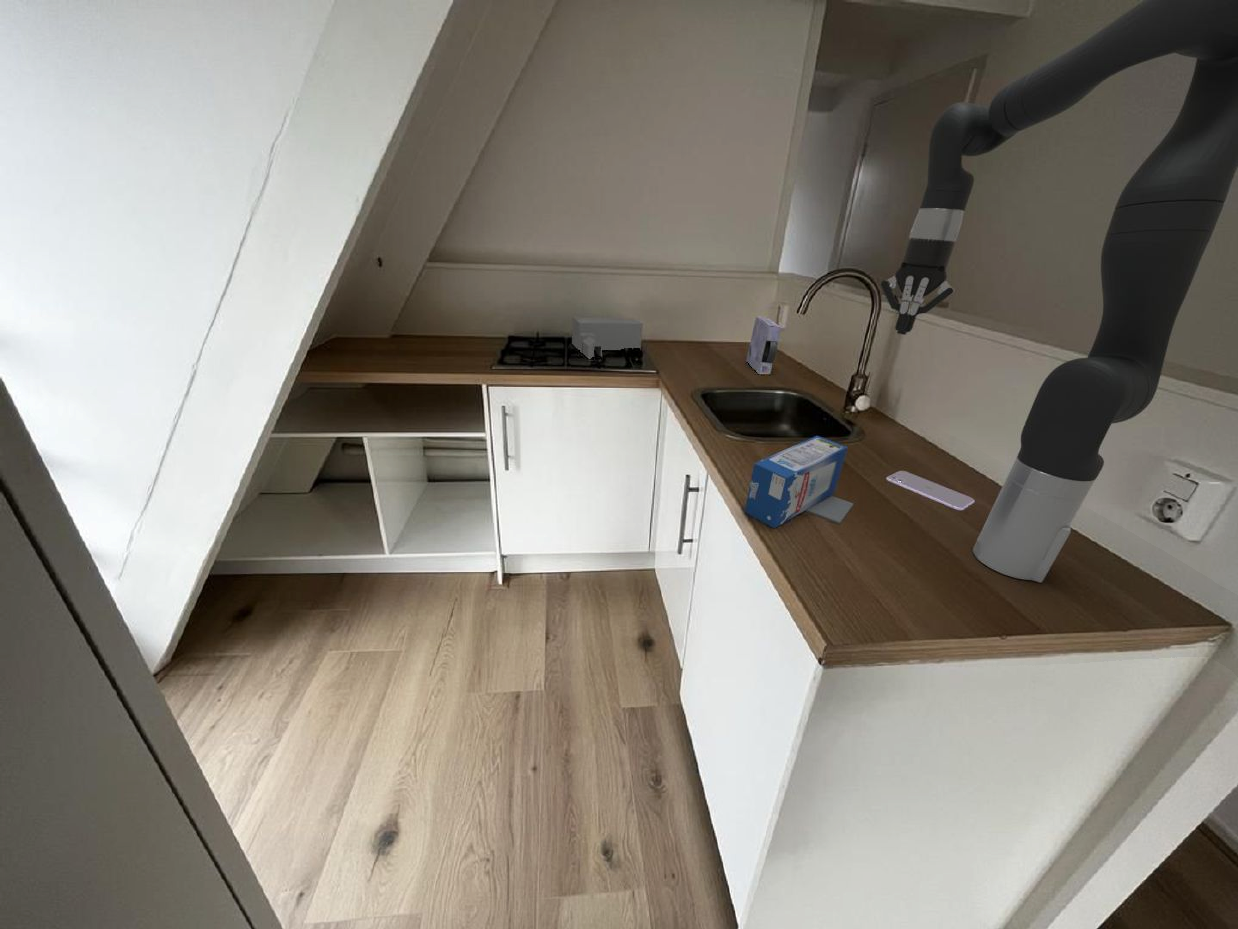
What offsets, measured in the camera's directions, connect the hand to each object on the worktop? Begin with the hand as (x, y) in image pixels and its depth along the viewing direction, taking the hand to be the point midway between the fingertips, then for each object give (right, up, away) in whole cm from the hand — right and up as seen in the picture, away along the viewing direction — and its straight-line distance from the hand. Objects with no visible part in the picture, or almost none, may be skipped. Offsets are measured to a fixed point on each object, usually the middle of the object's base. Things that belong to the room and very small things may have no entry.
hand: (901, 333), depth 97 cm
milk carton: (-16, -26, -3) cm, 31 cm away
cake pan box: (-5, +9, +84) cm, 85 cm away
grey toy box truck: (-59, +17, +92) cm, 111 cm away
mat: (-19, -33, -5) cm, 39 cm away
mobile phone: (+8, -32, +4) cm, 33 cm away
